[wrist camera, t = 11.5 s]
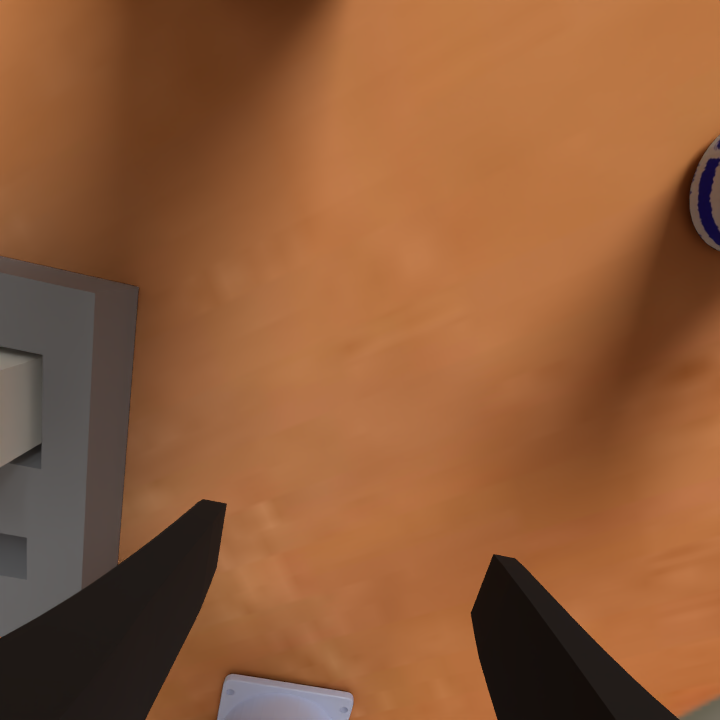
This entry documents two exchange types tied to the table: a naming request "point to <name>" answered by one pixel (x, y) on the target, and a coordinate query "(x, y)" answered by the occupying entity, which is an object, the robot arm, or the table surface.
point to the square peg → (19, 402)
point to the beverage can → (707, 196)
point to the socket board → (65, 436)
